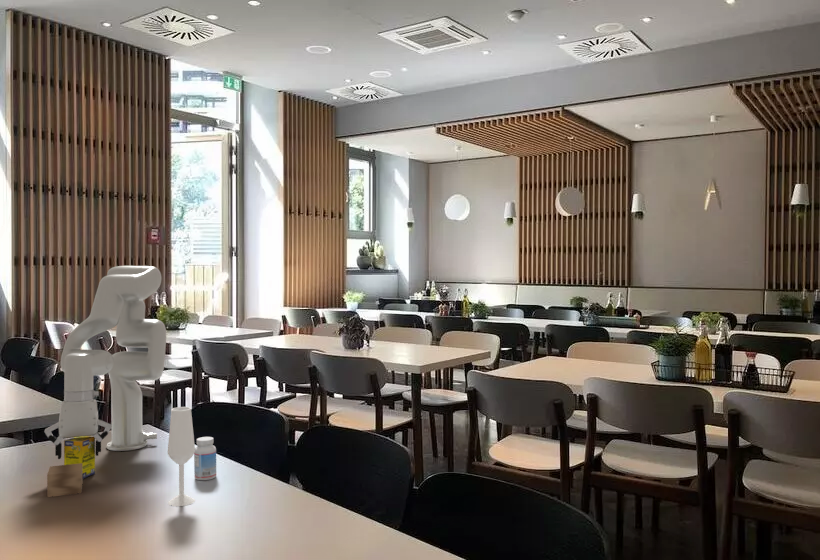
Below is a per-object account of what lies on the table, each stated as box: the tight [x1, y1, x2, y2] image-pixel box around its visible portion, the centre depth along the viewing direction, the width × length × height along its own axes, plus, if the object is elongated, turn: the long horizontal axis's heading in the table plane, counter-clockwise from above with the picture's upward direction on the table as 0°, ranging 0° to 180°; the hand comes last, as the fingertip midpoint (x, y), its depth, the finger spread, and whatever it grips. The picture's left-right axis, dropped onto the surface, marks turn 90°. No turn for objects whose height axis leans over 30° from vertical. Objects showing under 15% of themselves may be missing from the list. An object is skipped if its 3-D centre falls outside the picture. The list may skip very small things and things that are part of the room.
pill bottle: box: [193, 436, 217, 481], centre depth 197 cm, size 6×6×11 cm
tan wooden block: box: [46, 463, 84, 498], centre depth 185 cm, size 8×8×6 cm
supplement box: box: [63, 436, 96, 480], centre depth 197 cm, size 6×6×11 cm
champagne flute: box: [167, 406, 196, 507], centre depth 177 cm, size 7×7×24 cm
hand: (78, 456), depth 197 cm, fingers open, 9 cm apart
